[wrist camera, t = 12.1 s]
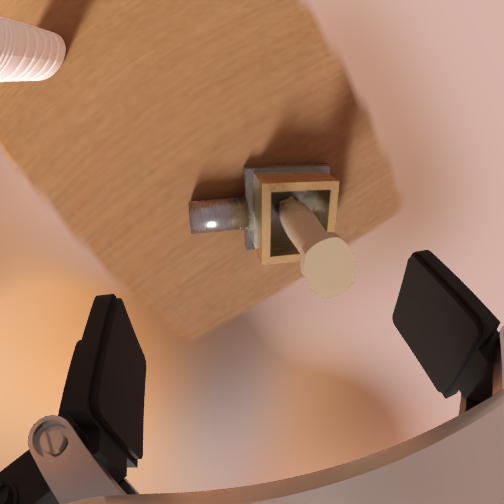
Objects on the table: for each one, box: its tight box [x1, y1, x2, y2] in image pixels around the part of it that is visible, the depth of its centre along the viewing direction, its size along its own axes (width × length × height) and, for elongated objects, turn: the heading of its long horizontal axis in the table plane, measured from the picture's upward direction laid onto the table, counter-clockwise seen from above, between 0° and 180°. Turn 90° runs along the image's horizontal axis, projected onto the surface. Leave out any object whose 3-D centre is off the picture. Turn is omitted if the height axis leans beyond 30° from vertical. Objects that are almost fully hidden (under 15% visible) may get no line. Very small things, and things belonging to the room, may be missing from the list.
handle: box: [278, 196, 357, 298], centre depth 34 cm, size 5×6×15 cm
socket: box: [189, 163, 339, 265], centre depth 38 cm, size 11×18×6 cm, turn 91°
